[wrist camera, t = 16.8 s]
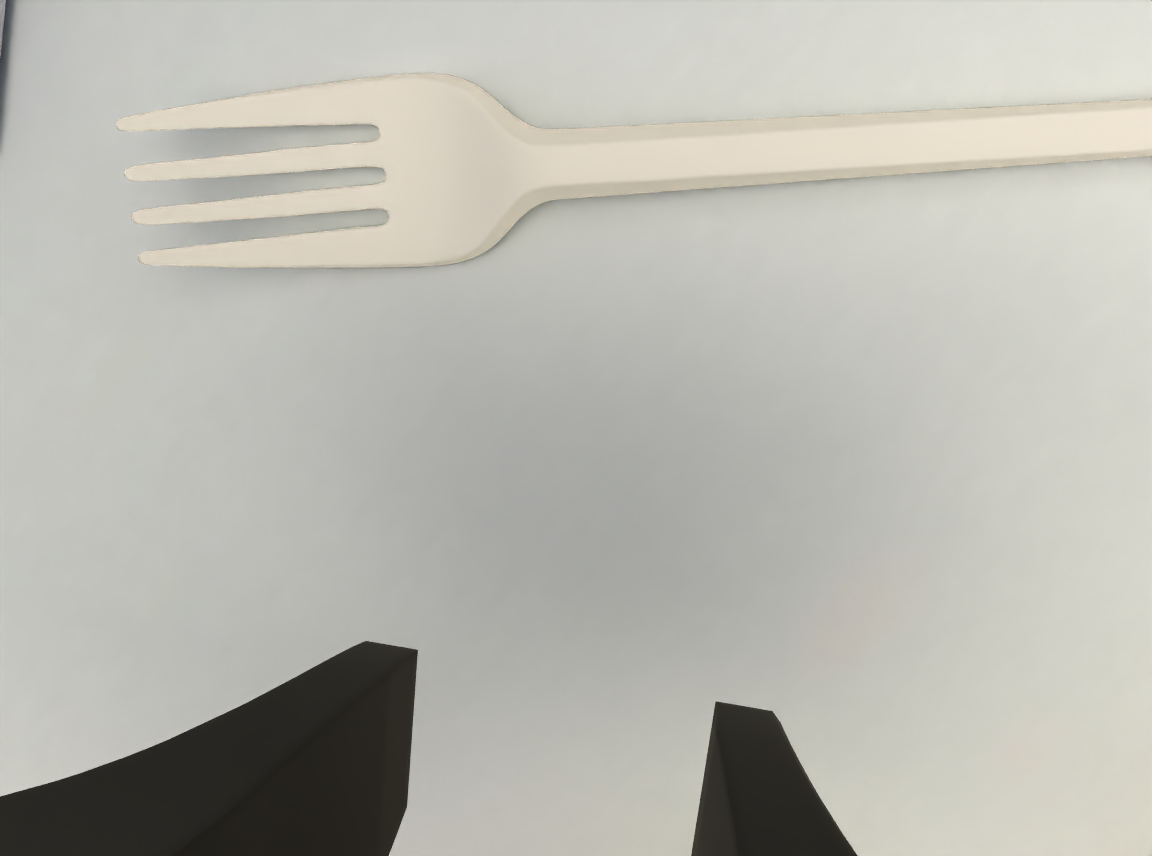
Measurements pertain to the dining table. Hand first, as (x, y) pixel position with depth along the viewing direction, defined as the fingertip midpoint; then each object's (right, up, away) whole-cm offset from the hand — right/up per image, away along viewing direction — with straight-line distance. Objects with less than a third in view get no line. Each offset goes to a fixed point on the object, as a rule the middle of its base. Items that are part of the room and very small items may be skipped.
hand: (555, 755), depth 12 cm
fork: (+3, +8, +6) cm, 11 cm away
